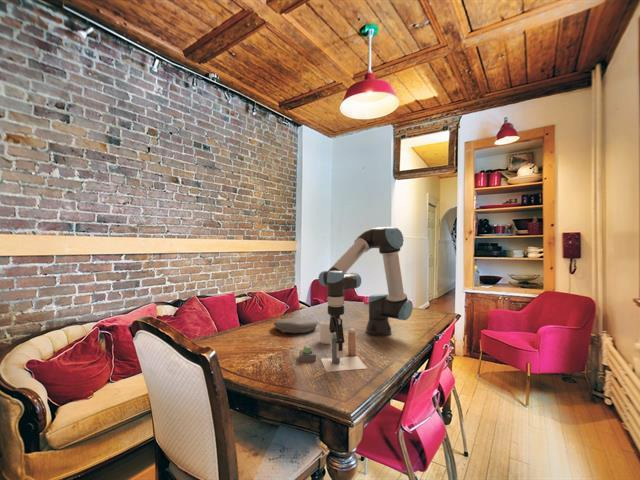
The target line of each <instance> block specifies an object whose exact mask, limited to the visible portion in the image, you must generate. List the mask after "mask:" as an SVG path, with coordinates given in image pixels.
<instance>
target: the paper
mask: <svg viewBox="0 0 640 480" xmlns="http://www.w3.org/2000/svg"><path fill="white" fill-rule="evenodd" d="M320 360H321V363H322V366H323V367H324V370H325V373H329V372H330V373H332V372H345V371H355V370H357V371H358V370H367V369H368V367H367V366H366V365H365V364H364V362H363V361H362V359H360V357H359V356H358V355H355V356H343V358H340V364H332V357H328V358H320Z"/></svg>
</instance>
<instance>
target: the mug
mask: <svg viewBox="0 0 640 480" xmlns="http://www.w3.org/2000/svg"><path fill="white" fill-rule="evenodd" d="M329 326H330V320H321V321H320V322H319V342H320V343H321V344H324V345H330V333H331V332H330V330H329ZM334 333H336V332H334Z"/></svg>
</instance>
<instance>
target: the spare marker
mask: <svg viewBox="0 0 640 480" xmlns="http://www.w3.org/2000/svg"><path fill="white" fill-rule="evenodd" d="M347 333H348V334H347V336H348V337H347V355H348V357H355V356H357V355H356V354H357V353H356V351H357V349H356V348H357V347H356V344H357V342H356V339H357V338H356V337H357V336H356V329H355V328H349V329H348V332H347Z"/></svg>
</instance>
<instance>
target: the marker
mask: <svg viewBox="0 0 640 480" xmlns="http://www.w3.org/2000/svg"><path fill="white" fill-rule="evenodd" d="M336 341H337V337H336V334H334V335H333V338H332V347H331V358H332V364H340V358H337V343H336Z"/></svg>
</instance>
